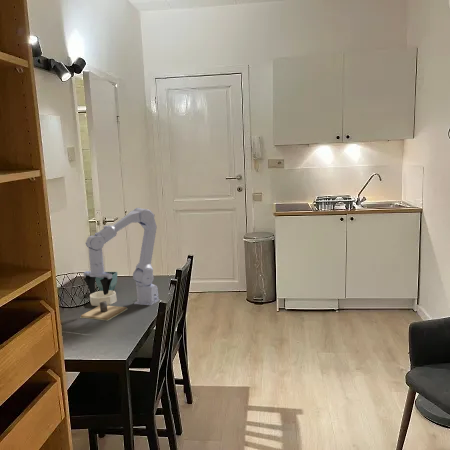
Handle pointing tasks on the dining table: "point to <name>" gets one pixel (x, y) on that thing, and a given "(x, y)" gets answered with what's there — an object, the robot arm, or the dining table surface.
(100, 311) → the lid
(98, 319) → the mat
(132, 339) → the dining table surface
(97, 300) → the bowl
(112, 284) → the flower pot
